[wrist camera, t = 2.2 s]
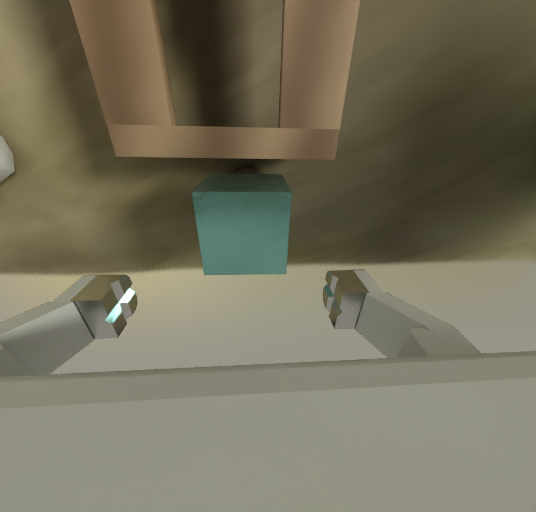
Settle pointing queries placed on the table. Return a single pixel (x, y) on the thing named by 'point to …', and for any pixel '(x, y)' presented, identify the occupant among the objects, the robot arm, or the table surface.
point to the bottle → (5, 160)
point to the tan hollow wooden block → (206, 137)
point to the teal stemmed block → (243, 222)
